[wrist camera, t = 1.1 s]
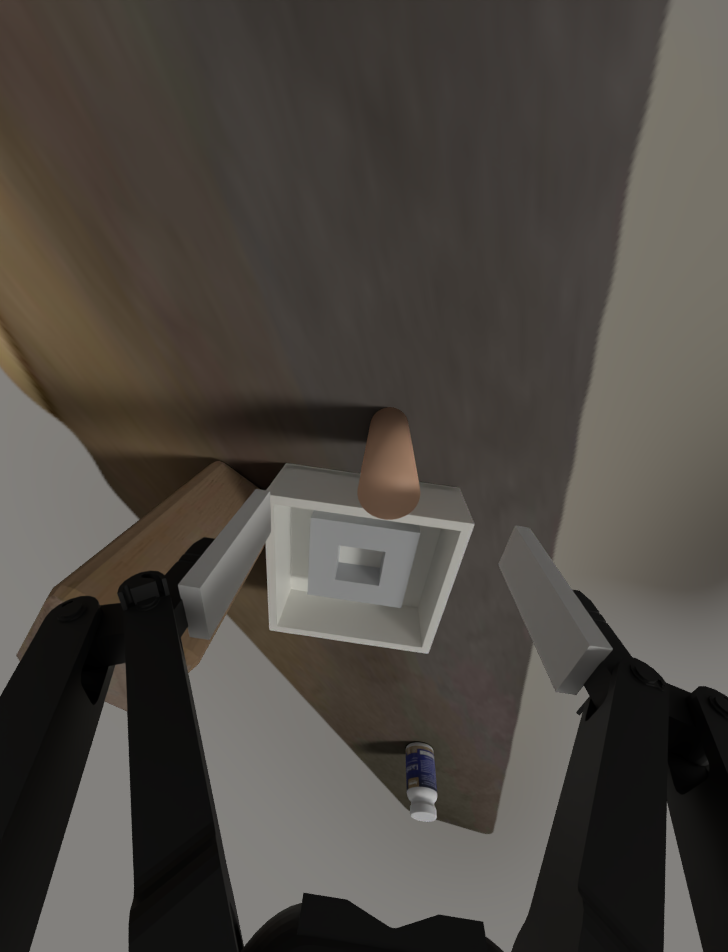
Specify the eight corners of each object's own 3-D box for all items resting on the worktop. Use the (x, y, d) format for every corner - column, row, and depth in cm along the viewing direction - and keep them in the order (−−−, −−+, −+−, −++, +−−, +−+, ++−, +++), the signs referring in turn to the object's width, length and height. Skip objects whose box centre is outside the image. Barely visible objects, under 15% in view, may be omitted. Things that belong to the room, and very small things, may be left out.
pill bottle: (411, 738, 61) (415, 808, 52) (437, 745, 62) (445, 816, 53) (401, 750, 64) (403, 819, 55) (426, 756, 64) (432, 825, 55)
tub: (286, 463, 34) (263, 494, 28) (459, 487, 34) (474, 524, 28) (286, 586, 44) (269, 630, 37) (422, 606, 43) (428, 653, 37)
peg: (372, 404, 31) (361, 461, 18) (411, 410, 31) (426, 470, 18) (368, 441, 32) (354, 515, 20) (404, 446, 32) (413, 523, 20)
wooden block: (288, 505, 37) (196, 673, 19) (247, 549, 41) (138, 722, 23) (219, 454, 35) (39, 593, 17) (181, 506, 38) (4, 663, 21)
